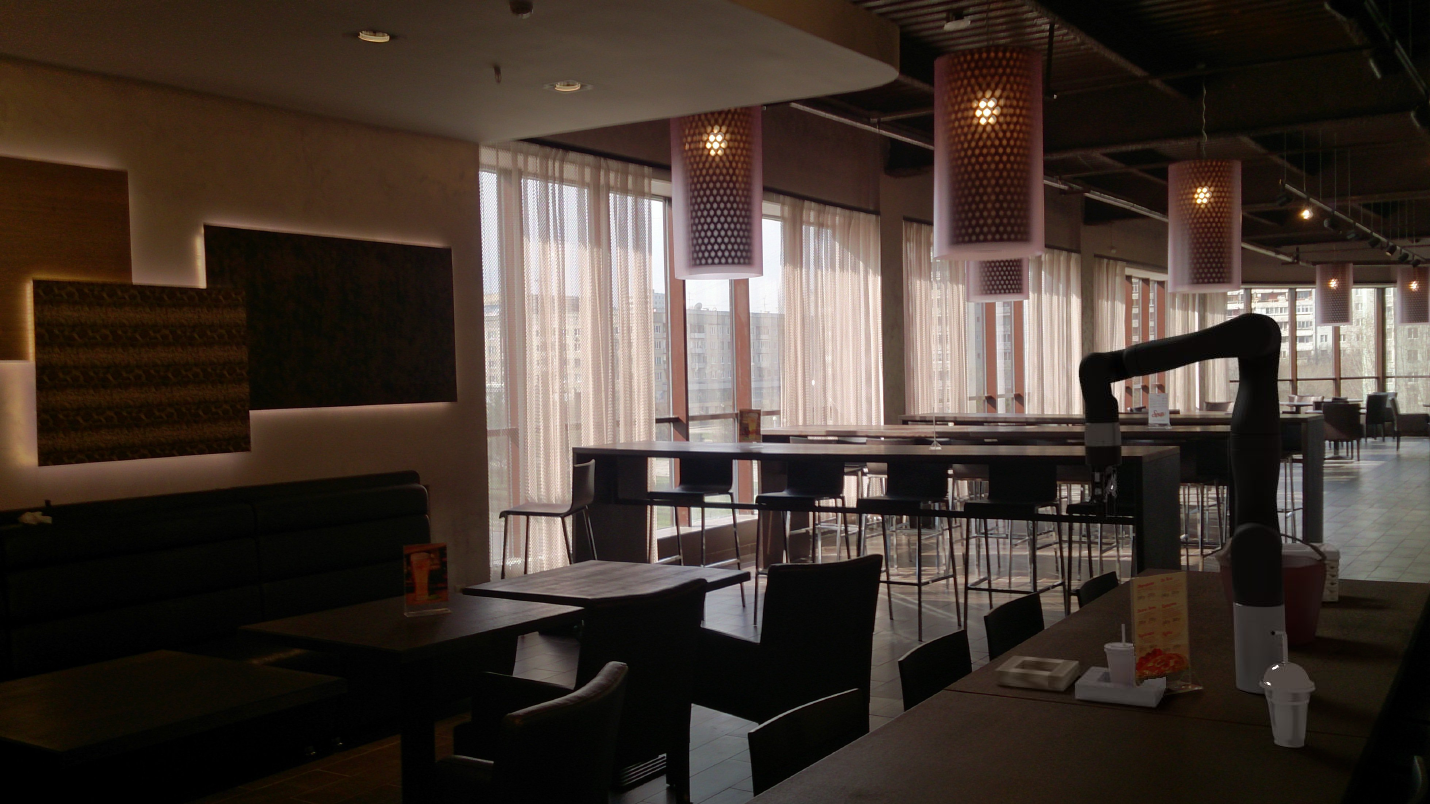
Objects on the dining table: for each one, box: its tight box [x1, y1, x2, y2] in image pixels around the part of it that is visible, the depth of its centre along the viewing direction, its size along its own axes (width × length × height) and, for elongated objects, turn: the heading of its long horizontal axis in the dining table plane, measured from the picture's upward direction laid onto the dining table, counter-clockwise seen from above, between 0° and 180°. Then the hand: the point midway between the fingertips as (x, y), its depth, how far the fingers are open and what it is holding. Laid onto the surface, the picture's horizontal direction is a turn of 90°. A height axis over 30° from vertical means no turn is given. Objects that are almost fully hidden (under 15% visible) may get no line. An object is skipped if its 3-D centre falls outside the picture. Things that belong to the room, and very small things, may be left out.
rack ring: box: [1074, 666, 1166, 708], centre depth 222 cm, size 15×15×3 cm
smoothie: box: [1104, 623, 1137, 685], centre depth 221 cm, size 6×6×14 cm
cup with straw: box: [1259, 631, 1316, 748], centre depth 188 cm, size 8×9×20 cm
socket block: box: [994, 655, 1080, 692], centre depth 234 cm, size 14×14×3 cm
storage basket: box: [1282, 542, 1341, 603], centre depth 311 cm, size 24×16×15 cm
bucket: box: [1214, 532, 1327, 646], centre depth 265 cm, size 24×22×25 cm
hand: (1105, 517), depth 241 cm, fingers open, 8 cm apart
